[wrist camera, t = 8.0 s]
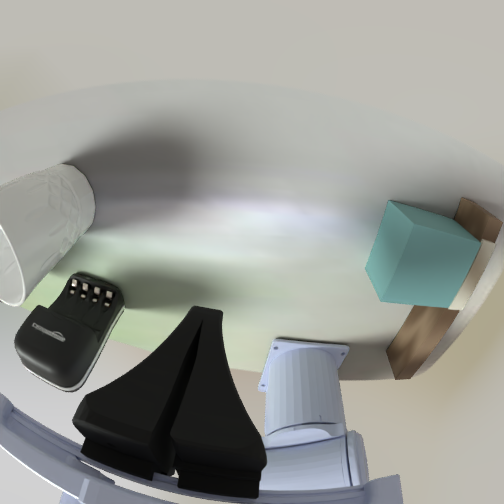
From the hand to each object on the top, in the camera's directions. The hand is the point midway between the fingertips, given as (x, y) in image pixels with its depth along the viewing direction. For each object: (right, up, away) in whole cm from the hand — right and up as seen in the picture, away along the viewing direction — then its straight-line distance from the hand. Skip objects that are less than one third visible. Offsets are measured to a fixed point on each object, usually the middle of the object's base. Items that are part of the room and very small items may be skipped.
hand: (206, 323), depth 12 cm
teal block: (+15, +4, +8) cm, 17 cm away
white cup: (-14, +8, +8) cm, 18 cm away
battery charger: (-13, 0, +12) cm, 18 cm away
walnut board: (+19, 0, +10) cm, 21 cm away
